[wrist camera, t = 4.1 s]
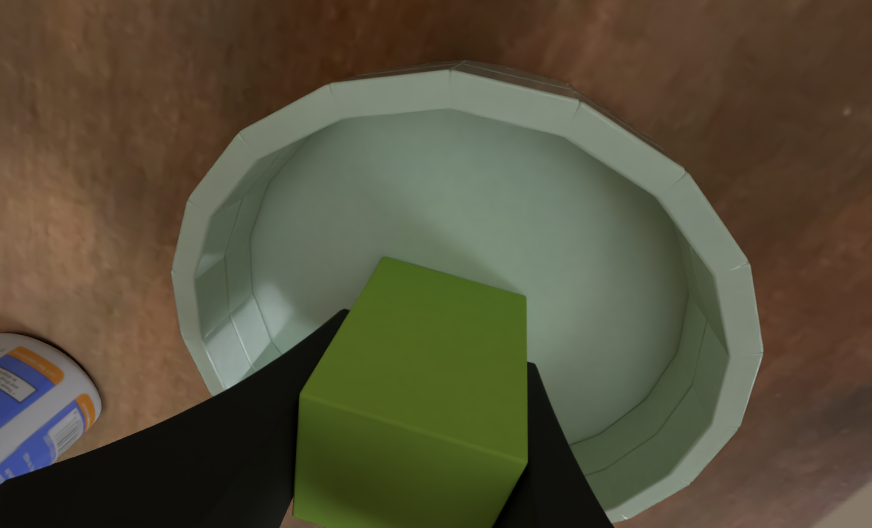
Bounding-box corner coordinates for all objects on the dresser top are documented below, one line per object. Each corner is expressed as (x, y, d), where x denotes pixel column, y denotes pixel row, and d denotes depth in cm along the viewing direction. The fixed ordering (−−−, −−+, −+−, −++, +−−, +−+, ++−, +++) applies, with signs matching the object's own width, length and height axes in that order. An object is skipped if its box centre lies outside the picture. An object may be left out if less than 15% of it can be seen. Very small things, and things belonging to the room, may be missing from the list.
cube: (527, 295, 11) (529, 463, 7) (486, 396, 13) (468, 574, 9) (383, 254, 11) (297, 393, 7) (365, 360, 13) (290, 518, 9)
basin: (799, 354, 11) (880, 452, 9) (439, 493, 17) (424, 575, 15) (482, -101, 8) (461, -163, 5) (171, 267, 14) (91, 323, 11)
